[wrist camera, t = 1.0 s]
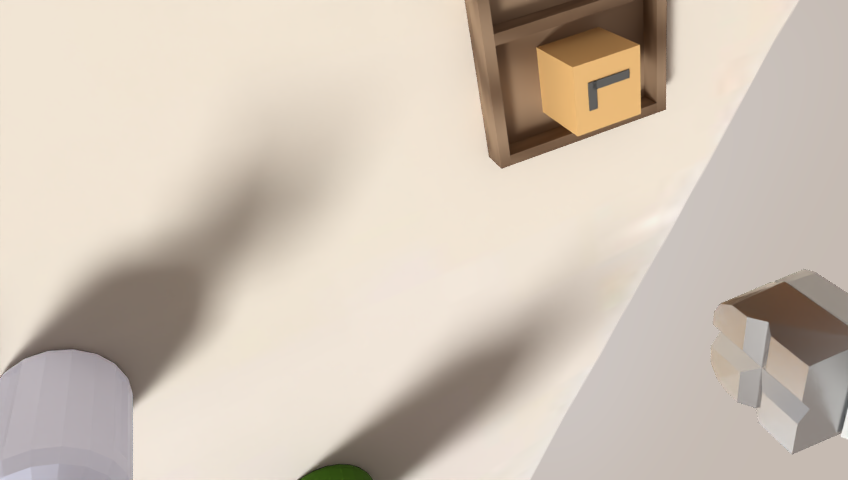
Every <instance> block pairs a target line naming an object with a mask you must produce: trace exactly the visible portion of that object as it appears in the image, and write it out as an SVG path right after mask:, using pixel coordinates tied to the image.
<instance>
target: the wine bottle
mask: <svg viewBox="0 0 848 480" xmlns="http://www.w3.org/2000/svg"><path fill="white" fill-rule="evenodd" d="M300 480H372V478H371V477H370V475H369V474H368V473H367V472H365V471H364V470H362V469H361V468H359V467H356V466H352V465H341V464H338V465H332V466H326V467H323V468H320V469H318V470H315V471H313V472H311V473H309V474H308V475H306V476H304V477H303V478H301V479H300Z"/></svg>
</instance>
